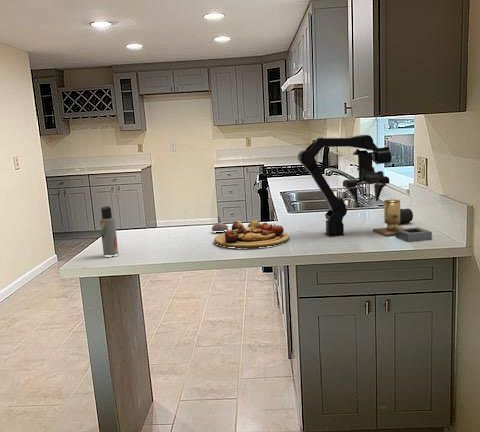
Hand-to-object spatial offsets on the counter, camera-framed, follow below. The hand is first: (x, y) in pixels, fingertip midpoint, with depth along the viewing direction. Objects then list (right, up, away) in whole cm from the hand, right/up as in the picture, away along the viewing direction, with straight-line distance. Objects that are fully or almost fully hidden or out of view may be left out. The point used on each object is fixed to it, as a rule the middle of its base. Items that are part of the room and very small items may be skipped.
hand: (366, 202), depth 208 cm
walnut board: (+11, -13, -1) cm, 17 cm away
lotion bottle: (-105, -22, -10) cm, 108 cm away
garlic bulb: (-63, -14, +22) cm, 68 cm away
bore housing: (+15, -15, -14) cm, 25 cm away
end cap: (+19, -10, +15) cm, 26 cm away
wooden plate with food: (-48, -17, +1) cm, 51 cm away
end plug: (+10, -12, -2) cm, 16 cm away
